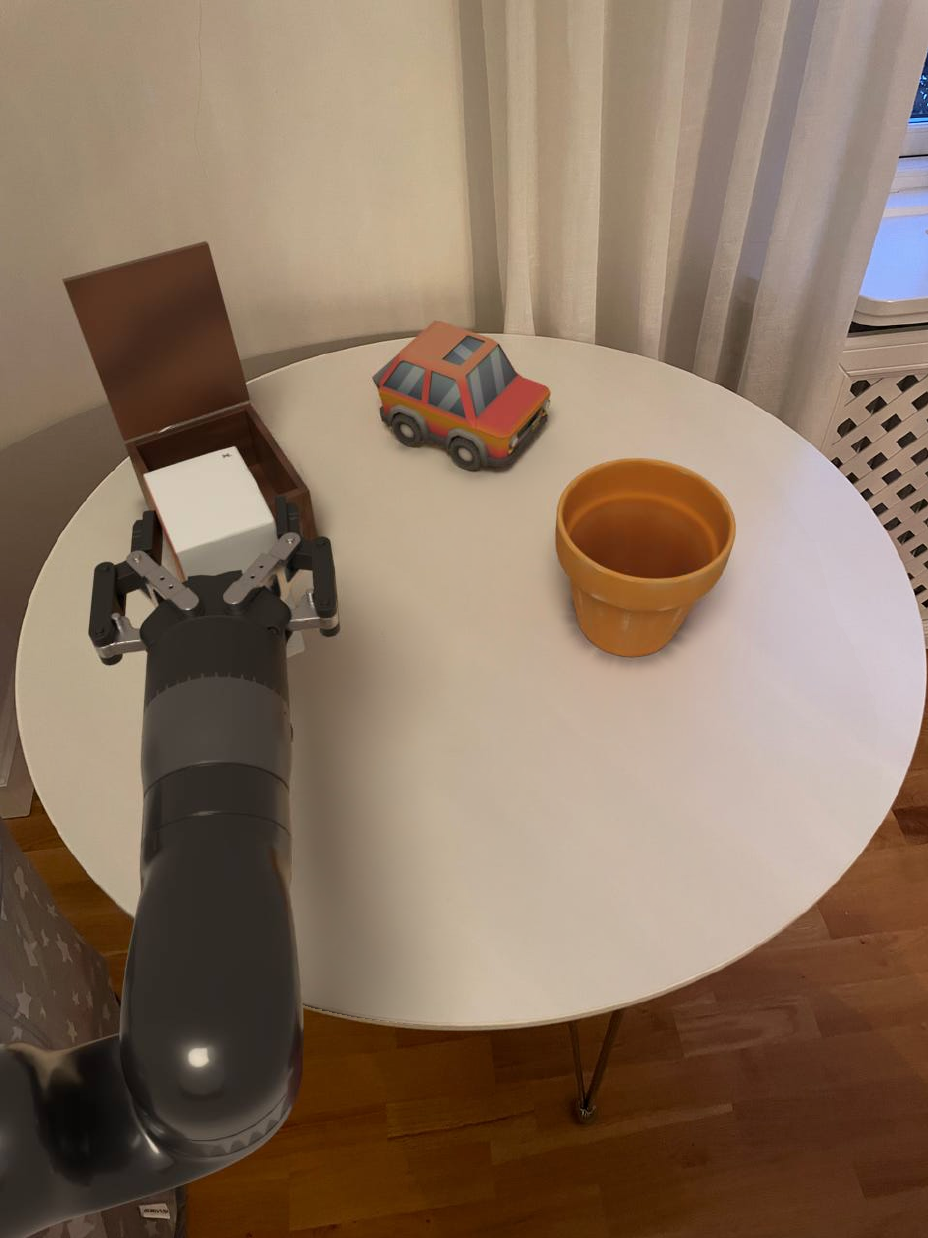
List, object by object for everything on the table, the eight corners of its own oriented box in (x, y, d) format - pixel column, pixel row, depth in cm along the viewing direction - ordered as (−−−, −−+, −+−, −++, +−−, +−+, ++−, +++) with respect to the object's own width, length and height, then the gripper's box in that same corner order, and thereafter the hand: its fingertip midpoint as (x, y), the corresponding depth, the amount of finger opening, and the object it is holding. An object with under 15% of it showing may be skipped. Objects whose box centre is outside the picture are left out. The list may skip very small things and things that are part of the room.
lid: (208, 242, 81) (205, 240, 82) (63, 281, 77) (61, 278, 78) (250, 400, 91) (248, 396, 92) (124, 441, 87) (122, 438, 88)
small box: (188, 606, 69) (140, 471, 59) (270, 578, 71) (236, 442, 61) (220, 685, 64) (174, 553, 54) (307, 652, 66) (277, 518, 56)
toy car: (502, 486, 96) (506, 407, 88) (368, 431, 101) (360, 352, 94) (556, 425, 102) (563, 346, 94) (427, 376, 107) (423, 298, 100)
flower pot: (521, 648, 82) (528, 545, 72) (580, 543, 90) (594, 438, 80) (675, 706, 78) (706, 606, 68) (723, 591, 86) (757, 487, 76)
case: (320, 550, 90) (309, 490, 84) (194, 599, 86) (174, 539, 80) (263, 462, 98) (250, 402, 92) (146, 503, 94) (124, 443, 88)
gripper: (346, 663, 47) (323, 454, 57) (53, 702, 45) (84, 480, 56) (359, 744, 53) (336, 540, 63) (99, 781, 51) (120, 566, 62)
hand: (218, 512), depth 59 cm, fingers closed on small box, 7 cm apart
